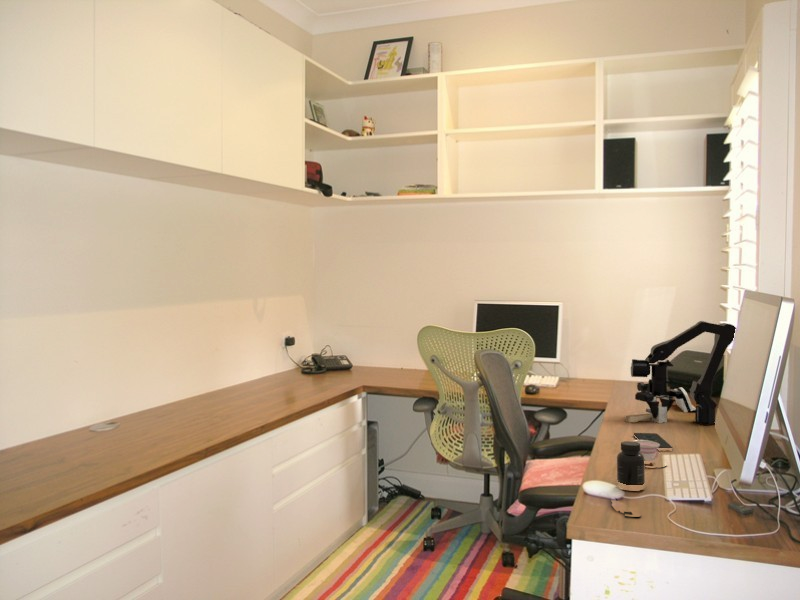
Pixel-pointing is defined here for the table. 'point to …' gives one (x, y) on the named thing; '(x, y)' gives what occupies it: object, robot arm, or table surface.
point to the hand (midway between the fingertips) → (659, 417)
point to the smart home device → (653, 439)
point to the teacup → (648, 449)
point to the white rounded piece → (684, 401)
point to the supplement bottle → (630, 464)
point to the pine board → (638, 417)
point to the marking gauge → (659, 414)
